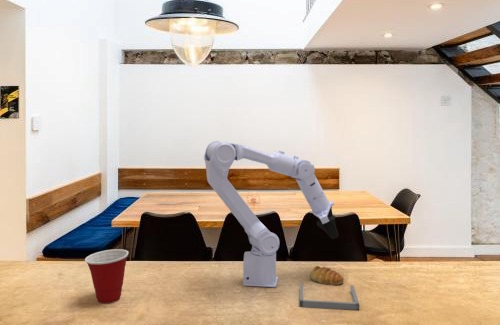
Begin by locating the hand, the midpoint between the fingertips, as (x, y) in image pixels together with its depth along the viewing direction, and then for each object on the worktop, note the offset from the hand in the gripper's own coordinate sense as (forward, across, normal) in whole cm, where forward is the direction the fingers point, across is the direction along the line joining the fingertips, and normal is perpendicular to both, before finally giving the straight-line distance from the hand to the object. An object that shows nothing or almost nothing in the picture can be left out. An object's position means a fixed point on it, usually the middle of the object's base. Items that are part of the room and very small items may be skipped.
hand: (334, 231), depth 128 cm
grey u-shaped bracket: (+6, -22, +7) cm, 24 cm away
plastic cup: (-22, -28, +57) cm, 68 cm away
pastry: (+9, -9, +8) cm, 15 cm away
